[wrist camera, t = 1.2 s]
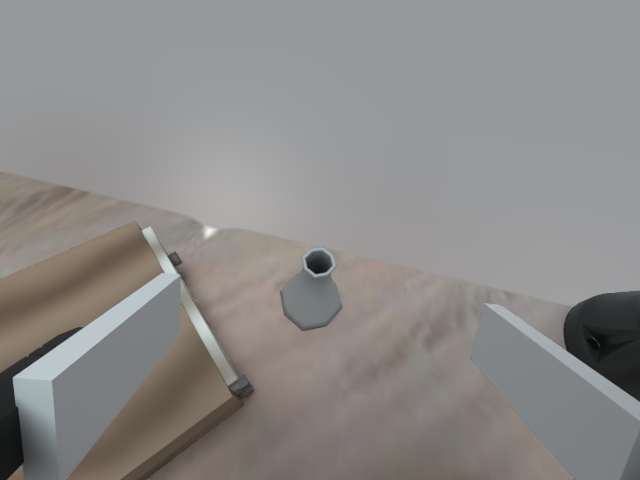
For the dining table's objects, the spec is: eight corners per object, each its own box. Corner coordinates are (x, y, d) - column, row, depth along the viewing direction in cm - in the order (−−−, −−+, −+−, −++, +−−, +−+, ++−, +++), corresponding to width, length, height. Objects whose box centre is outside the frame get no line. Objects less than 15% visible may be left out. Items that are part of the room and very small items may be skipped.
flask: (299, 342, 35) (305, 312, 26) (270, 289, 38) (266, 247, 29) (352, 311, 37) (372, 274, 29) (320, 264, 40) (330, 218, 32)
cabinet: (259, 392, 31) (252, 381, 25) (91, 520, 25) (21, 551, 19) (175, 251, 39) (152, 212, 32) (30, 323, 33) (-36, 294, 26)
